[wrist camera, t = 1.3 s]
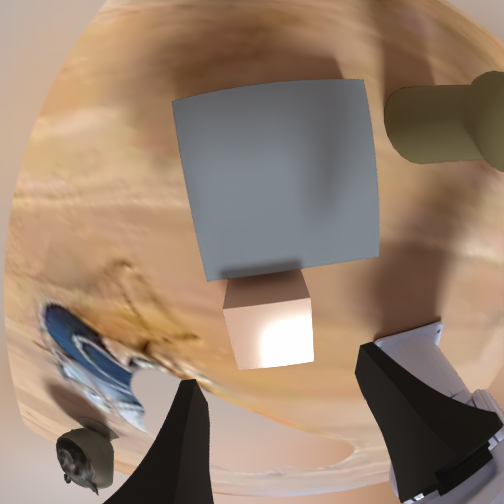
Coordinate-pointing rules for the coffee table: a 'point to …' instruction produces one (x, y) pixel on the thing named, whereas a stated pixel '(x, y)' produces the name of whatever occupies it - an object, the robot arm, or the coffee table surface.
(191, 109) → the plate
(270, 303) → the tan cube
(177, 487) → the robot arm
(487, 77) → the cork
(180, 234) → the coffee table surface
